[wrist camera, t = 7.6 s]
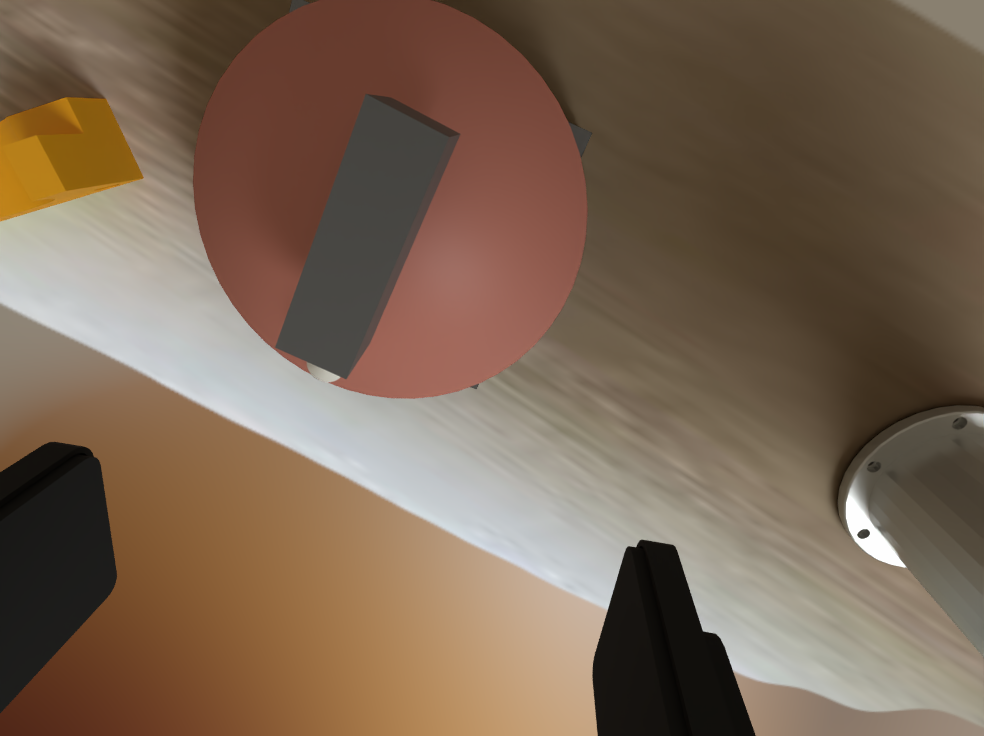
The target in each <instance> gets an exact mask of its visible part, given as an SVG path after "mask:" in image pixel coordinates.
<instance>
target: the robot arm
mask: <svg viewBox="0 0 984 736" xmlns="http://www.w3.org/2000/svg"><path fill="white" fill-rule="evenodd" d="M838 510H839V516H840V519H841V521H842V524H843V526H844V529H845V530H846V531H847V533H848V534H849V535H850V537H851V538H852V539H853V541H854V542H855V543H856V544H857V545H858V546H859V547H860V548H861V549H862V550H863V551H864V552H865V553H867V554H869V555H870V556H872V557H873V558H875V559H877V560H880V561H882V562H885V563H887V564H890V565H895V566H900V567H905V568H908V570H909V571H910V572H911V573H912V574H913V575H914V577H915V578H916V579H917V580H918V581H919V582H920V584H921V585H922V586H923V587H924V588H925V589H926V591H927V592H928V593H929V594H930V595H931V597H932V598H933V599H934V600H935V601H936V602H937V604H938V605H939V606H940V607H941V608H942V609H943V611H944V612H945V613H946V614H947V615H948V616H949V618H950V619H951V620H952V621H953V622H954V623H955V625H956V626H957V627H958V628H959V629H960V630H961V632H962V633H963V634H964V635H965V636H966V637H967V639H968V640H969V641H970V642H971V643H972V645H973V646H974V647H975V648H976V649H977V650H978V652H979V653H980V654H981V655H982V656H983V657H984V407H980V406H965V405H955V406H948V407H940V408H935V409H931V410H928V411H924V412H920V413H917V414H915V415H912V416H910V417H908V418H906V419H903V420H901V421H899V422H897V423H895V424H894V425H892V426H890V427H889V428H887V429H885V430H884V431H882V432H881V433H879V434H878V435H877V436H876V437H875V438H873V439H872V440H871V441H870V442H869V443H867V444H866V445H865V446H864V448H863V449H862V450H861V451H860V452H859V453H858V454H857V456H856V457H855V458H854V459H853V461H852V462H851V464H850V466H849V467H848V469H847V471H846V472H845V474H844V477H843V480H842V482H841V485H840V488H839V496H838ZM116 579H117V571H116V566H115V558H114V551H113V545H112V538H111V531H110V525H109V518H108V512H107V505H106V498H105V491H104V484H103V478H102V472H101V465H100V462H99V460H98V459H97V458H95V457H94V456H93V453H92V452H91V450H90V449H88V448H86V447H83V446H76V445H71V444H65V443H58V442H49V443H47V444H44V445H43V446H41V447H39V448H38V449H36V450H35V451H33V452H31V453H30V454H28V455H27V456H25V457H24V458H22V459H20V460H19V461H17V462H16V463H14V464H13V465H11V466H10V467H8V468H6V469H5V470H3V471H2V472H0V713H1V712H2V711H3V710H4V709H5V707H6V706H7V705H8V704H9V703H10V702H11V701H12V700H13V699H14V698H15V697H16V695H18V694H19V692H20V691H21V690H22V689H23V688H24V687H25V686H26V685H27V684H28V683H29V682H30V681H31V679H32V678H33V677H34V676H35V675H36V674H37V673H38V672H39V671H40V670H41V669H42V668H43V666H44V665H45V664H46V663H47V662H48V661H49V660H50V659H51V658H52V657H53V656H54V655H55V654H56V652H57V651H58V650H59V649H60V648H61V647H62V646H63V645H64V644H65V643H66V641H68V639H69V638H70V637H71V636H72V635H73V634H74V633H75V632H76V631H77V630H78V629H79V628H80V626H81V625H82V624H83V623H84V622H85V621H86V620H87V619H88V618H89V617H90V616H91V614H92V613H93V612H94V611H95V610H96V609H97V608H98V607H99V606H100V605H101V604H102V603H103V602H104V601H105V599H106V598H107V597H108V596H109V595H110V593H111V592H112V590H113V588H114V585H115V583H116ZM593 689H594V699H595V710H596V720H597V732H598V736H755V733H754V730H753V727H752V724H751V721H750V718H749V715H748V713H747V710H746V707H745V704H744V701H743V698H742V696H741V693H740V690H739V687H738V684H737V681H736V678H735V676H734V673H733V670H732V667H731V664H730V661H729V659H728V656H727V653H726V650H725V647H724V645H723V643H722V641H721V639H720V638H719V637H718V636H717V635H716V634H714V633H708V632H703V630H702V627H701V624H700V621H699V618H698V615H697V612H696V608H695V605H694V602H693V599H692V596H691V593H690V590H689V587H688V583H687V580H686V577H685V574H684V571H683V568H682V565H681V562H680V558H679V555H678V552H677V550H676V547H675V546H674V545H671V544H665V543H659V542H653V541H647V540H640V541H639V543H638V544H637V547H630V546H628V547H627V548H626V551H625V553H624V557H623V560H622V564H621V567H620V570H619V574H618V577H617V581H616V584H615V587H614V591H613V594H612V598H611V601H610V605H609V608H608V612H607V615H606V618H605V622H604V625H603V628H602V632H601V635H600V639H599V642H598V645H597V649H596V652H595V656H594V661H593Z"/></svg>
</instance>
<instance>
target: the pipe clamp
mask: <svg viewBox="0 0 984 736" xmlns="http://www.w3.org/2000/svg"><path fill="white" fill-rule="evenodd" d="M143 178H144V177H143V175H142V173H141V171H140V169H139V167H138V165H137V163H136V161H135V159H134V156H133V154H132V152H131V150H130V148H129V146H128V144H127V142H126V140H125V138H124V135H123V133H122V131H121V129H120V127H119V125H118V123H117V121H116V119H115V117H114V115H113V112H112V110H111V108H110V106H109V104H108V102H107V100H106V99H98V98H74V97H65V98H62V99H59V100H56V101H53V102H50V103H47V104H44V105H41V106H38V107H35V108H32V109H29V110H26V111H23V112H20V113H17V114H14V115H11V116H8V117H6V118H5V119H4V120H2V121H1V122H0V221H3V220H7V219H10V218H13V217H17V216H20V215H23V214H27V213H30V212H33V211H37V210H40V209H43V208H47V207H50V206H53V205H56V204H60V203H63V202H66V201H70V200H73V199H76V198H80V197H83V196H86V195H90V194H93V193H96V192H100V191H103V190H106V189H110V188H113V187H116V186H120V185H123V184H126V183H130V182H133V181H136V180H140V179H143Z"/></svg>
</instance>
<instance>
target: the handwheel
mask: <svg viewBox="0 0 984 736" xmlns="http://www.w3.org/2000/svg"><path fill="white" fill-rule="evenodd" d="M193 187H194V200H195V210H196V215H197V220H198V225H199V230H200V235H201V238H202V241H203V244H204V247H205V250H206V253H207V256H208V259H209V261H210V263H211V266H212V268H213V270H214V272H215V274H216V276H217V278H218V281H219V283H220V284H221V286H222V288H223V289H224V291H225V293H226V294H227V296H228V297H229V299H230V301H231V302H232V304H233V305H234V307H235V308H236V309H237V311H238V312H239V313H240V314H241V316H242V317H243V318H244V320H245V321H246V322H247V323H248V325H249V326H250V327H251V328H252V329H253V330H254V331H255V332H256V333H257V334H258V335H259V336H260V337H261V338H262V339H263V340H264V341H265V342H266V343H267V344H268V345H270V346H271V347H272V348H273V349H274V350H276V351H277V352H278V353H279V354H280V355H282V356H283V357H284V358H286V359H287V360H289V361H290V362H292V363H293V364H295V365H296V366H298V367H299V368H301V369H302V370H304V371H306V372H308V373H310V374H311V375H312V376H313V377H315V378H316V379H318V380H320V381H323V382H328V383H331V384H333V385H336V386H339V387H341V388H344V389H347V390H351V391H355V392H359V393H363V394H366V395H372V396H379V397H387V398H423V397H433V396H439V395H443V394H448V393H452V392H457V391H460V390H462V389H465V388H468V387H471V386H474V385H476V384H479V383H481V382H483V381H485V380H487V379H489V378H491V377H493V376H495V375H497V374H498V373H500V372H501V371H503V370H504V369H506V368H507V367H509V366H510V365H512V364H513V363H515V362H516V361H517V360H518V359H520V358H521V357H522V356H523V355H524V354H525V353H526V352H527V351H529V350H530V349H531V348H532V347H533V346H534V345H535V344H536V343H537V342H538V340H539V339H540V338H541V337H542V336H543V335H544V334H545V332H546V331H547V330H548V329H549V328H550V326H551V325H552V323H553V322H554V320H555V319H556V317H557V315H558V314H559V312H560V311H561V309H562V308H563V306H564V304H565V302H566V300H567V298H568V295H569V293H570V291H571V289H572V287H573V285H574V282H575V279H576V276H577V273H578V270H579V267H580V264H581V260H582V254H583V249H584V244H585V239H586V227H587V211H588V210H587V195H586V182H585V177H584V172H583V167H582V162H581V157H580V153H579V150H578V147H577V144H576V141H575V138H574V136H573V133H572V130H571V127H570V125H569V123H568V121H567V119H566V117H565V115H564V113H563V111H562V109H561V107H560V105H559V103H558V101H557V99H556V98H555V96H554V95H553V93H552V92H551V90H550V89H549V87H548V86H547V84H546V83H545V81H544V80H543V78H542V77H541V76H540V74H539V73H538V72H537V71H536V70H535V69H534V68H533V66H532V65H531V64H530V63H529V62H528V61H527V60H526V58H525V57H524V56H523V55H522V54H521V53H520V52H519V51H518V50H516V49H515V48H514V47H513V46H512V45H511V44H510V43H508V42H507V41H506V40H505V39H504V38H503V37H502V36H500V35H499V34H498V33H496V32H495V31H493V30H492V29H490V28H489V27H487V26H486V25H484V24H483V23H481V22H480V21H478V20H476V19H475V18H473V17H471V16H469V15H467V14H465V13H463V12H461V11H458V10H456V9H454V8H452V7H450V6H448V5H446V4H442V3H439V2H436V1H432V0H319V1H316V2H313V3H310V4H307V5H304V6H302V7H300V8H298V9H296V10H294V11H292V12H290V13H288V14H287V15H285V16H283V17H281V18H279V19H277V20H276V21H275V22H273V23H272V24H271V25H269V26H268V27H267V28H265V29H264V30H263V31H261V32H260V33H259V34H257V35H256V36H255V37H254V38H253V39H252V40H251V41H250V42H249V43H248V44H247V45H246V46H245V47H244V48H243V49H242V50H241V51H240V52H239V54H238V55H237V56H236V57H235V58H234V60H233V61H232V62H231V64H230V65H229V67H228V68H227V70H226V71H225V72H224V74H223V75H222V77H221V78H220V80H219V82H218V84H217V86H216V88H215V90H214V92H213V94H212V96H211V98H210V100H209V102H208V104H207V107H206V110H205V113H204V116H203V119H202V122H201V125H200V128H199V133H198V139H197V144H196V150H195V155H194V175H193Z"/></svg>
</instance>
